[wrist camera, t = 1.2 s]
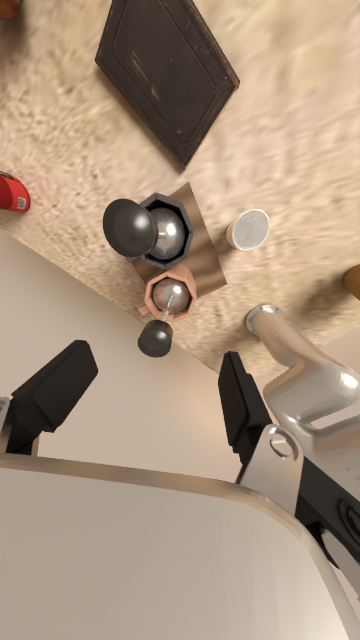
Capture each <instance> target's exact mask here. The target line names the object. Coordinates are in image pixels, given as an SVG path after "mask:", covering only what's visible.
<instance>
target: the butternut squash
mask: <svg viewBox="0 0 360 640" xmlns="http://www.w3.org/2000/svg"><path fill="white" fill-rule="evenodd" d="M22 1H23V0H0V19H6V20H10V19H11V18H12V17H13V16H18V15H19V6H20V4H21V2H22Z"/></svg>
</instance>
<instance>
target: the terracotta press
mask: <svg viewBox="0 0 360 640" xmlns="http://www.w3.org/2000/svg"><path fill="white" fill-rule="evenodd" d="M167 278H174V279H177V280H179V281H181V282H182V283H183V284H184V285H185V286H186V287H187V289H188V292H189V301H188V304H187V306H186V307H185V308H184V309H183V310H182V311H180V312H178V313H169V314H168V317H167V320H166V321H169V322H172V323H174V322H176V321H178V320H181V319H183V318H185V317H188V316H190V315H191V312H192V309H193V307H194V304H195V302H196V299H197V294H196V284H195V280H194V278H193V275H192V273H191V271H190V270H189V268H188V267H185V266H184V265H181V264H175V265H174V266H172V267H170V268H168V269H167V270H165V269H161V270H160V271H159V272H158V273H157V274H156V275H155V276H154V277H153V278H152V279H151V280H150V281H149V282H148V284H147V289H146V294H145V299H144V302H143V304H142V305H141V306H140V308H139V309H138V310H139V311H140V313H141V314H142V315H145V314H147V313H149V312H152V314H153V315H154V317H155V318H159V319H160V317H161V314H162V312H163V311H162V310H160V309H159V308H158V307H157V306H156V304H155V302H154V299H153V291H154V289H155V287H156V285H157V284H158V283H159V282H160V281H162V280H164V279H167Z"/></svg>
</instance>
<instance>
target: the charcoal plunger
mask: <svg viewBox="0 0 360 640" xmlns="http://www.w3.org/2000/svg"><path fill="white" fill-rule="evenodd" d="M103 230H104V234H105V237H106V239H107V241H108V242H109V244H110V245H111V247H112V248H113V249H114V250H115V251H116V252H118V253H119V254H121V255H123V256H126V257H138V256H141V255H144V254H147V253H150V254H151V255H152V256H154V257H156V258H158V259H170V258H172V257H174V256H175V255H177V254H178V253H179V252H180V250H181V249H182V247H183V244H184V240H185V230H184V226H183V223H182V221H181V219H180V218H179V217H178V215H177V214H176V213H174V212H173V211H171V210H169V209H167V208H157V209H154V210H152V211H150V212H149V211H147V210H146V209H145V208H143V207H142V206H140V205H139V204H137V203H135V202H134V201H132V200H129V199H117V200H115V201H113V202H112V203H110V204H109V205H108V207H107V208H106V210H105V213H104V216H103Z"/></svg>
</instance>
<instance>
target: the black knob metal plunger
mask: <svg viewBox="0 0 360 640" xmlns="http://www.w3.org/2000/svg"><path fill="white" fill-rule="evenodd" d="M153 299H154V302H155V304H156V306H157V307H158V308H159V309H160V310H162V311H163V312H162V314H161V317H160V319H159V320H152V321H150V322H148V323H147V324H146V326H145V328H144V330H143V331H142V333H141V335H140V337H139V339H138V346H139V348H140V350H141V351H142V352H143V353H144V354H146V355H148V356H150V357H162V356H165V355H166V354H167V353H168V352H169V351H170V348H171V342H172V337H173V330H172V328H171V326H170V325H169V324H168V323H166V320H167V317H168V314H169V313H178V312H180V311H182V310H183V309H184V308H185V307H186V306H187V304H188V301H189V292H188V289H187V287H186V286H185V285H184V284H183V283H182V282H181V281H179V280H177V279H174V278H167V279H164V280H162V281H160V282H159V283H158V284H157V285H156V287H155V289H154V291H153Z"/></svg>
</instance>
